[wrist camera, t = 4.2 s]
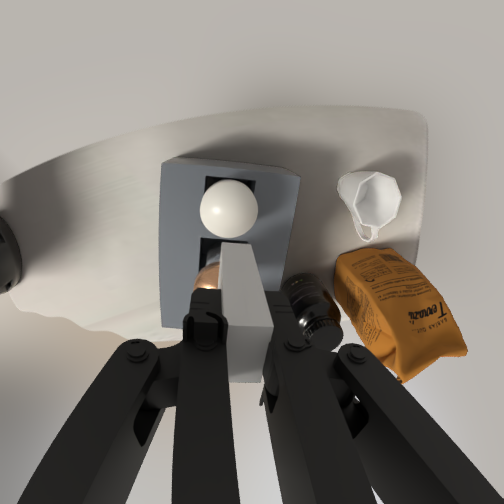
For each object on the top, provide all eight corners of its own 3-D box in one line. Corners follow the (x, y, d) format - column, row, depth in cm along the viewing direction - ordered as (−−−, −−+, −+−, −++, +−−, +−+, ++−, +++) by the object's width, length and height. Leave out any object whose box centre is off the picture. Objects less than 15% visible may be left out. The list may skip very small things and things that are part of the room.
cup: (369, 160, 35) (401, 169, 27) (372, 225, 39) (401, 245, 32) (324, 166, 35) (350, 175, 27) (331, 234, 39) (355, 257, 31)
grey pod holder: (170, 293, 40) (161, 327, 33) (174, 157, 32) (161, 163, 25) (261, 299, 42) (270, 333, 35) (283, 167, 34) (300, 176, 27)
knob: (203, 211, 33) (198, 235, 25) (207, 168, 31) (202, 179, 23) (246, 214, 33) (253, 240, 26) (251, 172, 31) (261, 185, 24)
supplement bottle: (327, 295, 43) (356, 344, 32) (290, 315, 44) (310, 368, 33) (312, 263, 40) (343, 309, 30) (272, 284, 41) (290, 337, 30)
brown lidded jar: (198, 273, 32) (192, 317, 24) (200, 231, 30) (193, 266, 22) (242, 276, 33) (249, 320, 25) (247, 235, 31) (256, 271, 23)
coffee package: (389, 293, 45) (459, 376, 25) (327, 302, 44) (386, 407, 24) (399, 242, 41) (491, 316, 21) (334, 247, 40) (417, 344, 20)
